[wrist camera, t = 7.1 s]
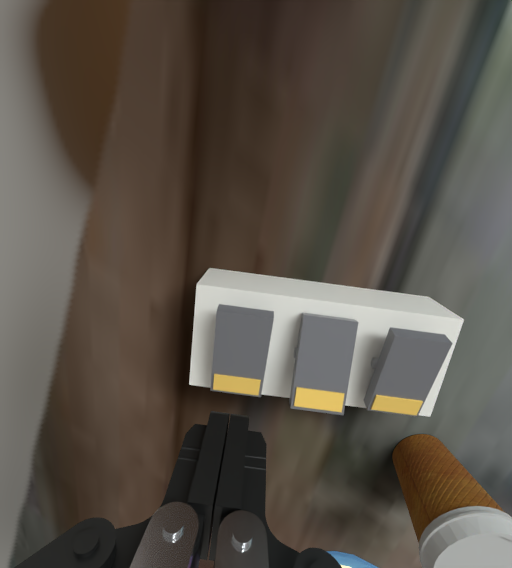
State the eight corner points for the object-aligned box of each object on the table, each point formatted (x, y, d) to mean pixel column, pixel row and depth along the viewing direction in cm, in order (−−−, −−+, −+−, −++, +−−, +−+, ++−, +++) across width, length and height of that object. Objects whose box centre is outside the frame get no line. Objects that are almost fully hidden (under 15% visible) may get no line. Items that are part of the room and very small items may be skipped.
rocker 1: (219, 304, 25) (216, 311, 24) (273, 311, 25) (273, 319, 24) (212, 381, 28) (209, 391, 27) (261, 387, 28) (260, 398, 27)
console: (209, 267, 32) (194, 287, 25) (428, 296, 32) (470, 323, 25) (201, 355, 35) (186, 393, 28) (402, 382, 35) (434, 425, 28)
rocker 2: (302, 312, 26) (304, 315, 25) (354, 319, 26) (359, 322, 25) (288, 401, 27) (290, 409, 26) (339, 408, 27) (344, 416, 26)
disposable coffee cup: (471, 464, 38) (560, 583, 26) (400, 495, 40) (454, 619, 28) (438, 409, 36) (519, 512, 24) (364, 444, 38) (407, 555, 26)
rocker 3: (389, 327, 25) (395, 336, 24) (444, 334, 25) (453, 344, 24) (363, 399, 28) (367, 411, 27) (412, 406, 28) (418, 418, 27)
